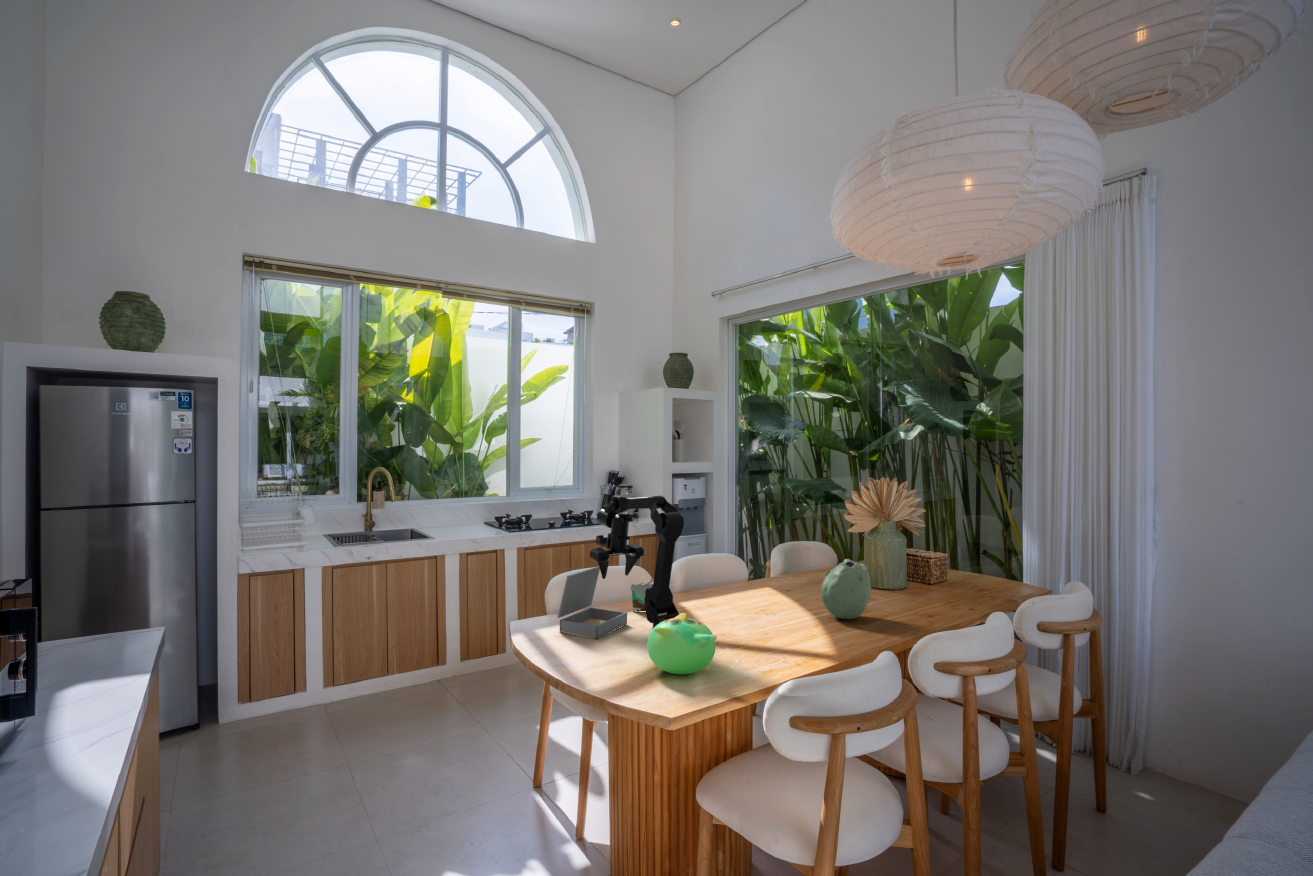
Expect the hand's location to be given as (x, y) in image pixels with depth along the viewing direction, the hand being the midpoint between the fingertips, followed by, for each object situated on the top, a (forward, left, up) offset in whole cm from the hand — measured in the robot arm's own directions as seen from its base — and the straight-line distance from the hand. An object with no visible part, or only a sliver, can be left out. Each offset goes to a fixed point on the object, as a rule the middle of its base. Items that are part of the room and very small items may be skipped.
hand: (615, 577), depth 214 cm
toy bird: (-51, +7, -15) cm, 53 cm away
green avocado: (-37, -71, -15) cm, 81 cm away
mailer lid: (+1, +12, -4) cm, 13 cm away
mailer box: (-4, +10, -15) cm, 18 cm away
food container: (+6, -17, -15) cm, 24 cm away
